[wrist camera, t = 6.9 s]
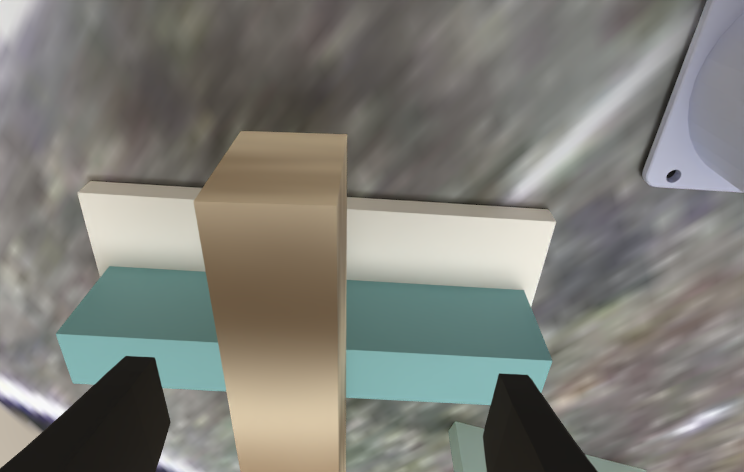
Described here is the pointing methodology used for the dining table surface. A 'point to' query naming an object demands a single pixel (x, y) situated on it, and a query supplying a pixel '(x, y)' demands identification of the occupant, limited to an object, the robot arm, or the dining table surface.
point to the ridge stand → (363, 295)
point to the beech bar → (280, 295)
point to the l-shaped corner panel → (472, 456)
